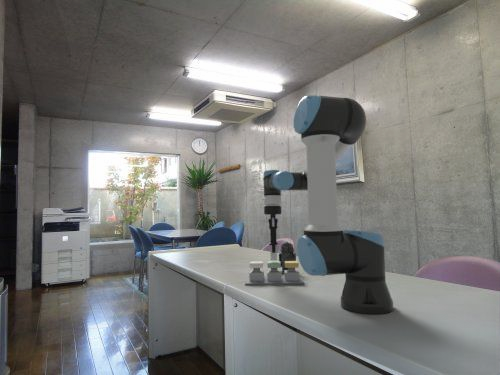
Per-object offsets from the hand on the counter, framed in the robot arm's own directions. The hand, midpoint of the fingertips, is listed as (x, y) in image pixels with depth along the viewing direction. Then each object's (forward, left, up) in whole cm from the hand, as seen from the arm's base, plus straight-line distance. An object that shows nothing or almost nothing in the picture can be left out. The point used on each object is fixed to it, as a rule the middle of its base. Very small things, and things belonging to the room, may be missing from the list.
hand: (273, 260), depth 139 cm
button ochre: (-5, -6, -6) cm, 9 cm away
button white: (+4, +6, -6) cm, 10 cm away
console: (0, 0, -9) cm, 9 cm away
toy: (+10, -16, -9) cm, 21 cm away
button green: (0, 0, -6) cm, 6 cm away
